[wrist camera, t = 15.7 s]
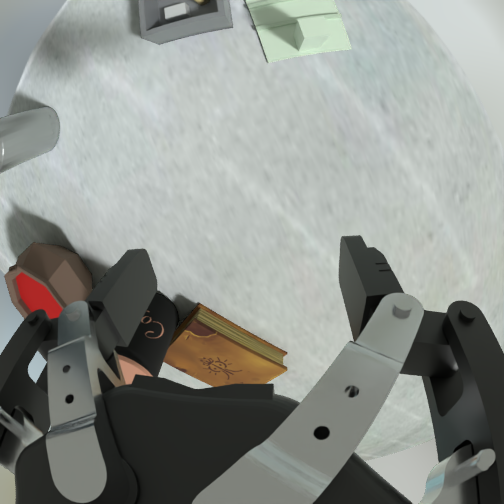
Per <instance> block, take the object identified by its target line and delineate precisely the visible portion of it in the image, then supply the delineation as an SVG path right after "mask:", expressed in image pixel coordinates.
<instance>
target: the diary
mask: <svg viewBox="0 0 504 504" xmlns="http://www.w3.org/2000/svg"><path fill="white" fill-rule="evenodd" d="M285 355H287V352H285V351H283V350H282V349H280V348H278V347H276V346H274V345H272V344H270V343H268V342H267V341H265V340H263V339H261V338H259V337H257V336H256V335H254V334H252V333H250V332H248V331H247V330H245V329H243V328H241V327H240V326H238V325H236V324H234V323H233V322H231V321H229V320H227V319H226V318H224V317H222V316H221V315H219V314H217V313H216V312H214V311H212V310H210V309H209V308H207V307H206V306H204V305H202V304H201V303H199V304H198V305H197V307H196V308H195V309H194V310H193V311H192V312H191V313H190V314H189V316H188V317H187V318H186V319H185V320H184V321H183V322H182V323H181V325H180V326H179V327H178V328H177V329H176V330H175V332H174V334H173V337H172V339H171V342H170V345H169V347H168V350H167V353H166V355H165V358H164V361H163V362H165V363H167V364H169V365H171V366H172V367H174V368H176V369H178V370H180V371H182V372H184V373H186V374H188V375H190V376H192V377H194V378H196V379H198V380H200V381H202V382H205V383H207V384H209V385H211V386H213V387H218V386H224V385H230V384H235V383H237V384H265V383H267V382H269V381H271V380H272V379H274V378H276V377H277V376H279V375H281V374H282V373H284V372H286V371H287V367H286V366H284V365H283V357H284V356H285Z"/></svg>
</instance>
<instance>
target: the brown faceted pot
mask: <svg viewBox="0 0 504 504" xmlns="http://www.w3.org/2000/svg"><path fill="white" fill-rule="evenodd" d="M4 277H5V280H6V284H7V288H8V291H9V294H10V297H11V301H12V303H13V304H14V306H15V307H16V309H17V310H18V311H19V312H20V314H21V315H22V316H23V317H24V319H25V318H26V317H27V316H28V315H29V314H30V313H32V312H33V311H35V310H38V309H43V310H45V311H46V313H47V315H48V316H49V318H50V319H52V318H57V317H59V315H60V313H61V311H62V310H63V309H64V308H65V307H66V306H68V305H69V304H71V303H73V302H76V301H85V300H86V299H87V297H88V296H89V295H90V293H91V292H92V274H91V273H90V271H89V270H88V268H87V267H86V266H85V264H84V263H83V261H82V260H81V258H80V257H79V255H78V254H76V253H74V252H72V251H70V250H68V249H66V248H64V247H62V246H58V245H50V244H42V243H35V242H34V243H32V244H31V245H30V246H29V247H28V248H27V249H26V250H25V251H24V252H23V253H22V254H21V255H20V256H19V257H18V260H17V262H16V265H14V266H11V267H9V272H8V273H7V274H6V275H5V276H4Z"/></svg>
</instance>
